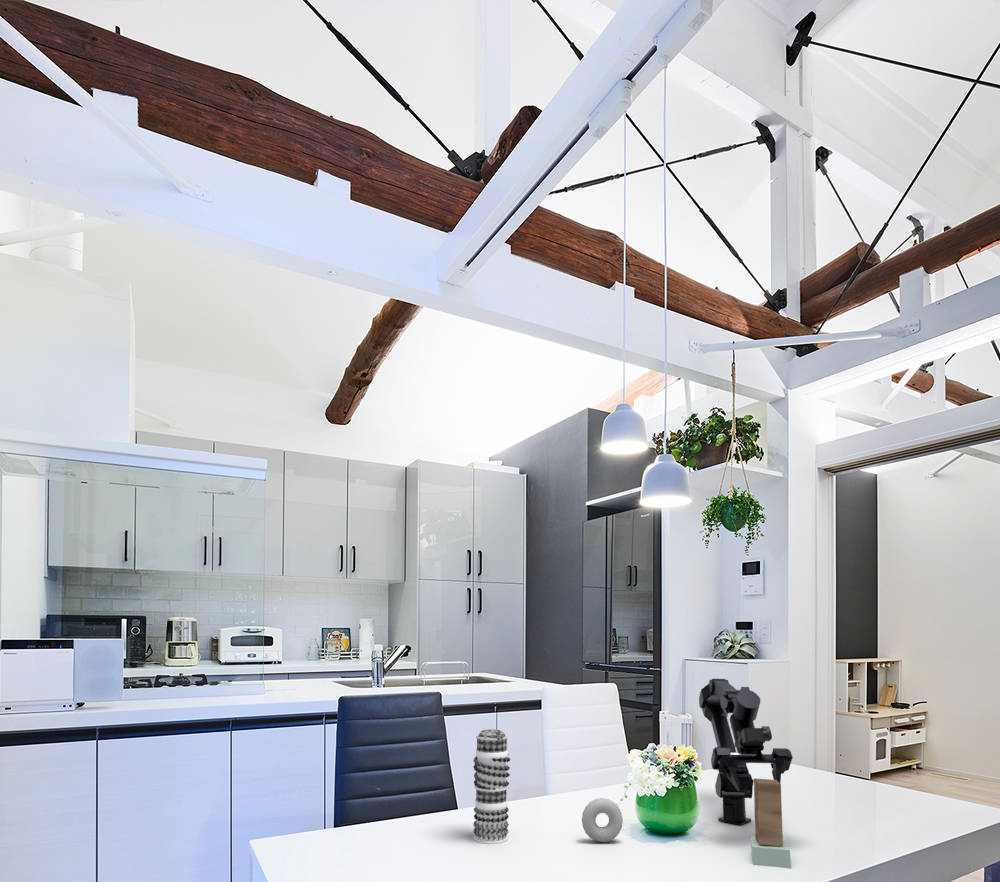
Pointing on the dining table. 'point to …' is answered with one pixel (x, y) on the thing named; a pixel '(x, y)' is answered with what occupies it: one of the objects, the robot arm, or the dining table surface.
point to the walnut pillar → (768, 812)
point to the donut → (613, 825)
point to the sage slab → (771, 854)
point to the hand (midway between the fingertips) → (759, 790)
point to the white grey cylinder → (491, 787)
